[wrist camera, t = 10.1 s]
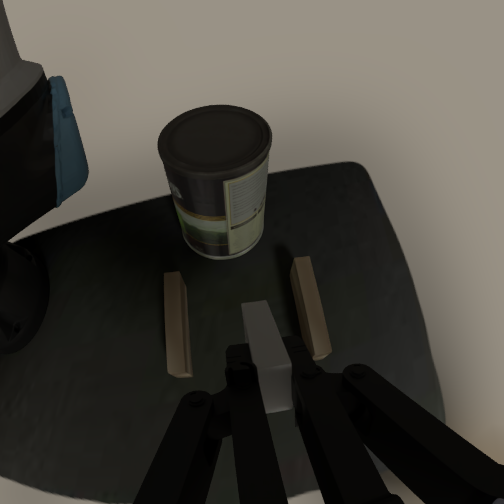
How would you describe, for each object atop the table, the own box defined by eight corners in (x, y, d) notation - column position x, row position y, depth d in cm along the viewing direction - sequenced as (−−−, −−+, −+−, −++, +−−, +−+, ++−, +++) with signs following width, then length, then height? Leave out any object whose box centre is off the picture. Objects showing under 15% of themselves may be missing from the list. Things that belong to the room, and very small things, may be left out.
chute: (177, 377, 28) (167, 372, 24) (172, 288, 33) (163, 272, 29) (321, 359, 29) (332, 351, 26) (302, 273, 34) (309, 256, 31)
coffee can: (186, 268, 34) (156, 183, 22) (179, 200, 39) (157, 113, 27) (273, 252, 35) (286, 163, 23) (254, 187, 40) (257, 99, 28)
